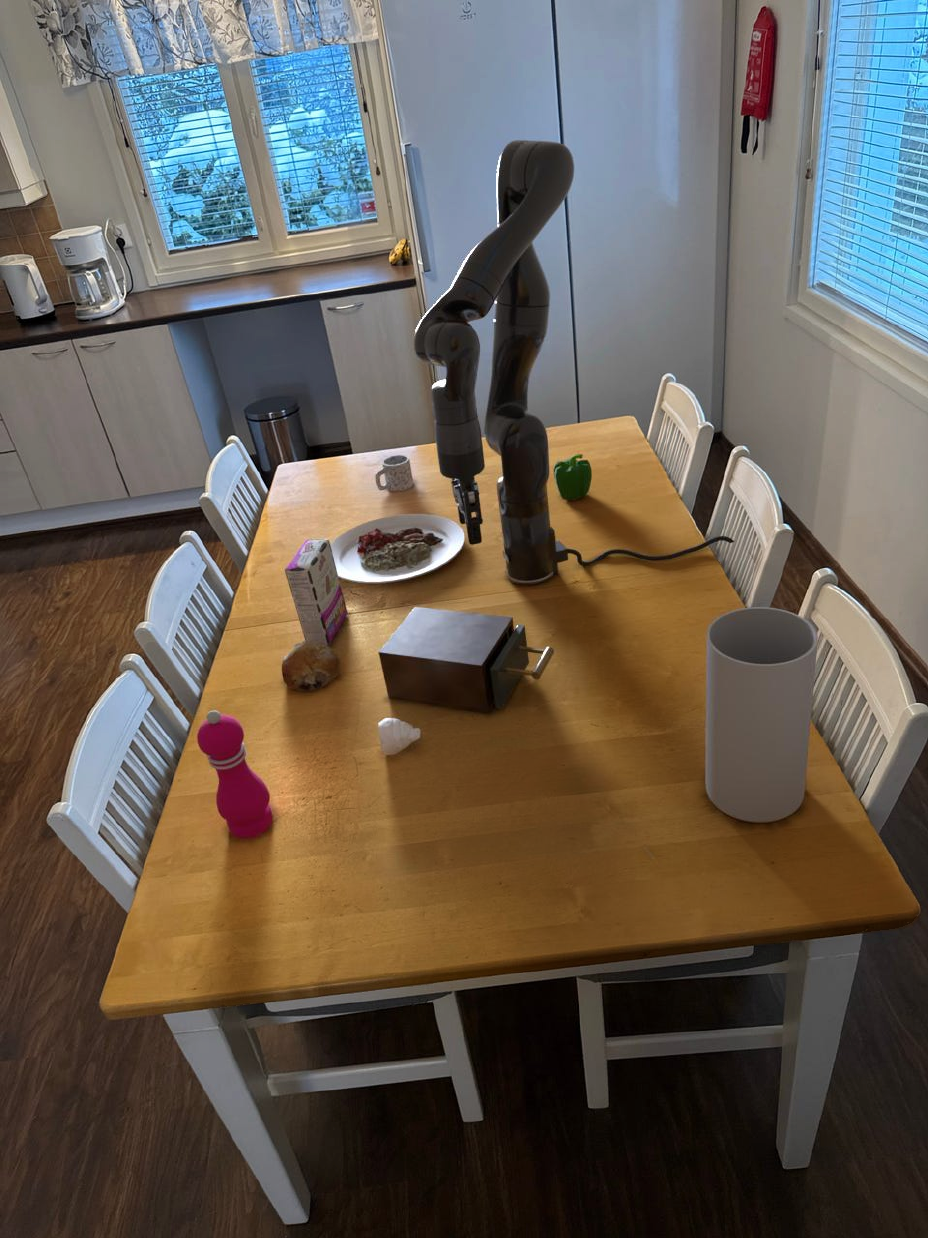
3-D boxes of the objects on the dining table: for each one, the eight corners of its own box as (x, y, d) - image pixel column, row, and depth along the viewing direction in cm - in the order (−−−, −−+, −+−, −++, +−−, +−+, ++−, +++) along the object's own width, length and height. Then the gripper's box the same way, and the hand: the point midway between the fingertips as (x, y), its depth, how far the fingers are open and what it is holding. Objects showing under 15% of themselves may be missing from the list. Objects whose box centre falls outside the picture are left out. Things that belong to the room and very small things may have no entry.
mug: (402, 477, 228) (397, 452, 224) (418, 483, 223) (414, 458, 220) (370, 492, 222) (365, 467, 219) (387, 498, 218) (382, 472, 214)
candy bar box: (324, 613, 176) (305, 538, 167) (348, 613, 174) (330, 537, 166) (304, 646, 166) (282, 568, 158) (329, 646, 165) (309, 568, 157)
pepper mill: (229, 809, 132) (189, 699, 121) (279, 801, 132) (242, 691, 121) (222, 845, 126) (179, 733, 115) (274, 837, 126) (235, 724, 115)
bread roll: (350, 684, 161) (350, 639, 159) (321, 696, 151) (321, 648, 150) (301, 679, 164) (300, 635, 163) (269, 690, 154) (269, 644, 153)
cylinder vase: (698, 816, 118) (698, 659, 105) (713, 754, 128) (715, 603, 115) (799, 833, 114) (813, 671, 100) (807, 767, 123) (821, 611, 110)
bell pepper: (548, 501, 205) (544, 459, 199) (566, 486, 210) (563, 445, 205) (581, 506, 200) (578, 464, 195) (598, 491, 206) (596, 449, 200)
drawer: (561, 666, 149) (558, 629, 145) (537, 714, 139) (532, 674, 135) (438, 651, 158) (432, 615, 154) (407, 694, 148) (399, 657, 144)
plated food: (437, 593, 176) (434, 578, 174) (301, 585, 186) (297, 571, 185) (484, 523, 200) (482, 509, 198) (361, 519, 210) (358, 506, 208)
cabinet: (518, 663, 153) (512, 617, 148) (488, 714, 142) (481, 665, 138) (423, 651, 160) (414, 606, 155) (388, 698, 149) (378, 652, 145)
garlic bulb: (424, 757, 136) (418, 728, 133) (384, 763, 136) (377, 734, 133) (422, 734, 140) (417, 706, 138) (384, 739, 140) (377, 712, 138)
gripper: (490, 455, 143) (500, 546, 152) (473, 426, 155) (483, 512, 164) (443, 463, 142) (456, 554, 151) (430, 433, 155) (442, 520, 163)
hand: (470, 532), depth 157 cm, fingers open, 8 cm apart
